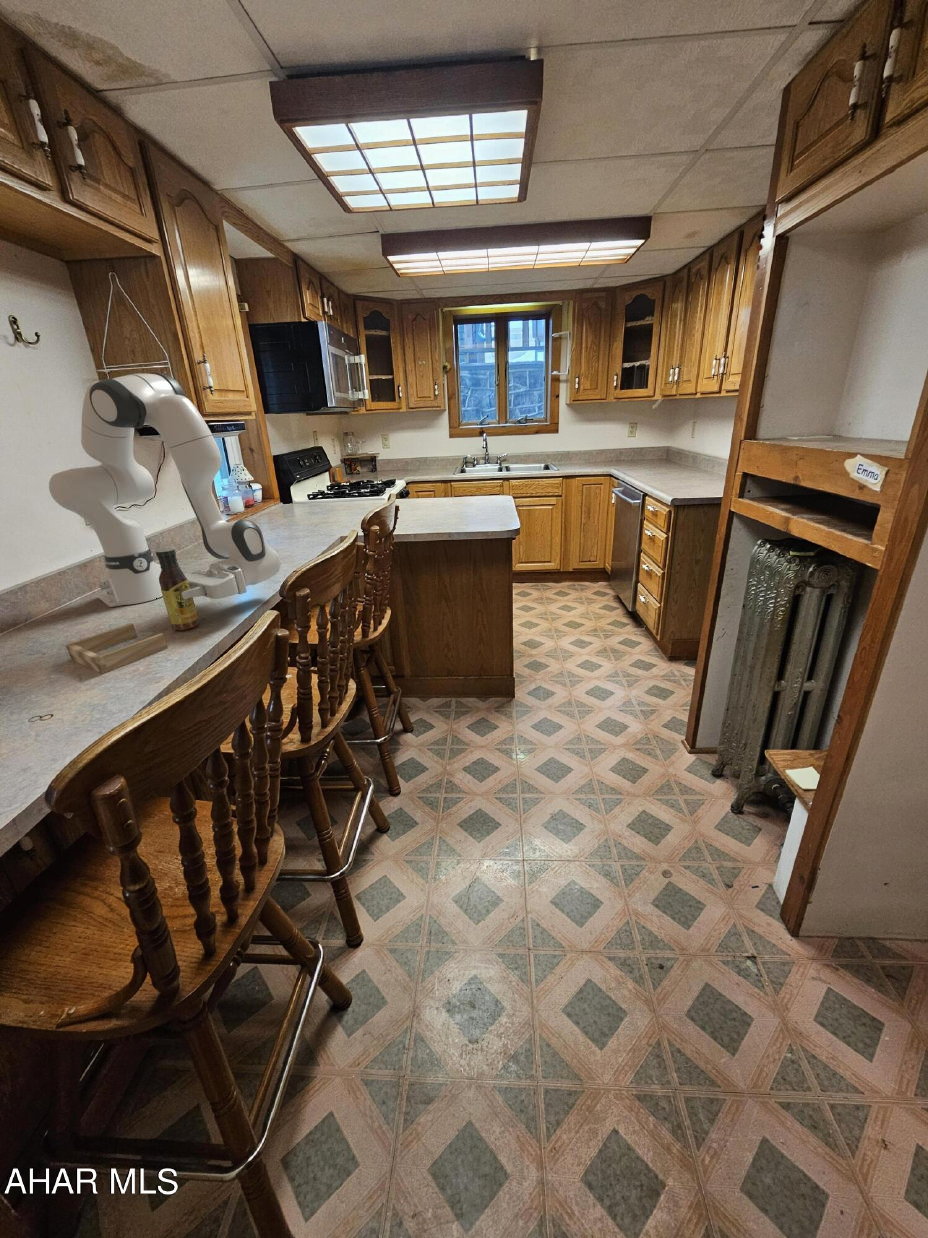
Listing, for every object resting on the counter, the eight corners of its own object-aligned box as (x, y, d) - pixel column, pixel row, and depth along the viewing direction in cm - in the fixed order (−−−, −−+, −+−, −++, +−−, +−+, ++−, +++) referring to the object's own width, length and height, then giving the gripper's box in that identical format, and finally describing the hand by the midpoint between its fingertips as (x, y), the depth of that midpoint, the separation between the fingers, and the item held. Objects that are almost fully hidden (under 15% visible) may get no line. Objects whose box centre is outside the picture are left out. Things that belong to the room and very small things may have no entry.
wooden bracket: (168, 647, 112) (163, 634, 111) (102, 673, 101) (96, 659, 100) (135, 636, 120) (130, 623, 119) (71, 659, 110) (65, 645, 108)
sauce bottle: (188, 632, 119) (164, 553, 112) (166, 631, 121) (141, 553, 113) (206, 621, 125) (184, 546, 117) (185, 620, 126) (162, 546, 119)
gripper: (199, 562, 133) (147, 576, 123) (244, 570, 123) (191, 586, 112) (206, 583, 136) (155, 600, 125) (250, 593, 125) (199, 611, 115)
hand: (173, 593), depth 119 cm, fingers closed on sauce bottle, 6 cm apart
